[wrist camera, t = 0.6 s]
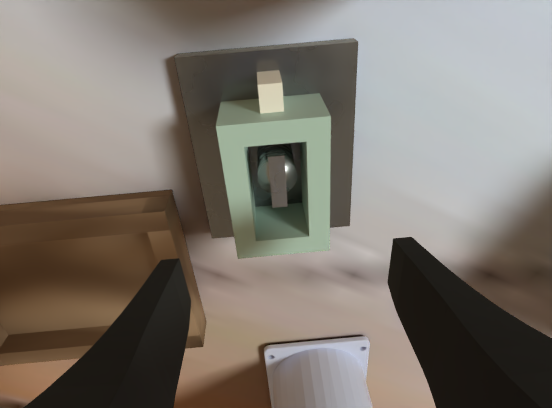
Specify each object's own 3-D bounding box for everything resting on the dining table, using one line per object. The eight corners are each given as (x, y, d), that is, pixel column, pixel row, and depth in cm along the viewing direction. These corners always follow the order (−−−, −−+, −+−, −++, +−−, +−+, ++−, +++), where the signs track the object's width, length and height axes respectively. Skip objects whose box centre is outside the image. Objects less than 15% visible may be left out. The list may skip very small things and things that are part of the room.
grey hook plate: (346, 217, 23) (362, 259, 20) (213, 229, 23) (207, 273, 19) (353, 38, 17) (376, 56, 14) (177, 53, 17) (160, 75, 14)
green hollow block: (320, 215, 21) (329, 250, 19) (239, 223, 21) (238, 258, 19) (319, 66, 17) (331, 85, 14) (216, 75, 17) (210, 96, 14)
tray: (206, 321, 27) (203, 346, 25) (3, 340, 27) (-14, 366, 25) (171, 189, 21) (164, 211, 19) (-91, 213, 21) (-122, 237, 19)
